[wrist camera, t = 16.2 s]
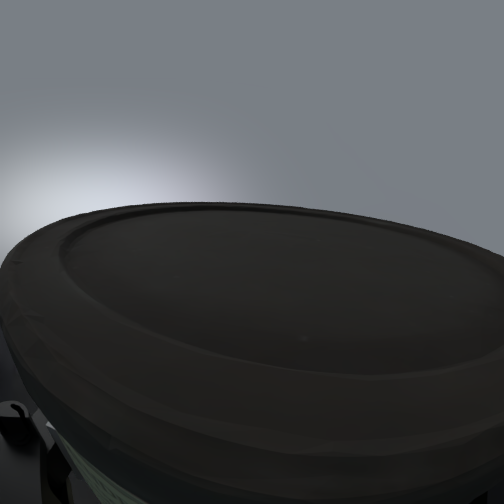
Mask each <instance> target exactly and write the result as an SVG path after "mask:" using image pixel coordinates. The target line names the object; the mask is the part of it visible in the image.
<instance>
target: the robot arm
mask: <svg viewBox="0 0 504 504" xmlns="http://www.w3.org/2000/svg"><path fill="white" fill-rule="evenodd" d="M71 470H72V471H73V472H74V474H75V475H76V477H77V478H78V479H80V480H82V481H85V482H86V480H85V479H84V477H83V476H82V474H81V473H80V471H79V469H78V468H77V466H76V465H75V463H74V461H73V460H72V458H71V456H70V455H69V453H68V451H67V449H66V448H65V446H64V444H63V442H62V440H61V439H60V437H59V435H58V433H57V431H56V429H55V428H54V427H53V426H52V425H51V424H50V423H49V421H48V420H47V419H46V417H45V416H44V415H43V413H42V412H41V410H40V409H39V408H38V410H37V411H36V412H35V413H34V414H33V416H32V417H31V416H30V414H29V412H28V410H27V408H26V407H25V405H23V404H21V403H20V402H17V401H12V400H11V401H4V402H2V403H0V504H74V502H73V496H72V489H71V483H70V480H69V478H68V475H69V473H70V472H71ZM469 504H504V479H503V480H501V481H500V482H499V483H497V484H496V485H495V486H494V487H492V488H491V489H489V490H488V491H486V492H485V493H483V494H482V495H480V496H478V497H477V498H475V499H473V500H472V501H471V502H470V503H469Z"/></svg>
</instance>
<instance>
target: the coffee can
mask: <svg viewBox="0 0 504 504" xmlns="http://www.w3.org/2000/svg"><path fill="white" fill-rule="evenodd" d="M0 324H1V328H2V331H3V334H4V337H5V340H6V343H7V345H8V348H9V351H10V353H11V356H12V358H13V361H14V363H15V365H16V368H17V370H18V372H19V374H20V377H21V379H22V381H23V383H24V385H25V387H26V389H27V391H28V393H29V395H30V396H31V398H32V399H33V400H34V402H35V403H36V405H37V406H38V408H39V409H40V410H41V412H42V413H43V415H44V416H45V417H46V419H47V420H48V421H49V423H50V424H51V425H52V426H53V427H54V428H55V429H56V431H57V433H58V435H59V437H60V439H61V440H62V442H63V444H64V446H65V448H66V449H67V451H68V453H69V455H70V456H71V458H72V460H73V461H74V463H75V465H76V466H77V468H78V469H79V471H80V473H81V474H82V476H83V477H84V479H85V480H86V482H87V483H88V485H89V486H90V488H91V489H92V490H93V492H94V493H95V495H96V496H97V498H98V499H99V500H100V502H101V503H102V504H469V503H470V502H471V501H472V500H473V499H475V498H477V497H478V496H480V495H482V494H483V493H485V492H486V491H488V490H489V489H491V488H492V487H494V486H495V485H496V484H497V483H499V482H500V481H501V480H503V479H504V257H503V256H501V255H499V254H496V253H493V252H491V251H489V250H487V249H484V248H482V247H479V246H477V245H474V244H472V243H469V242H466V241H462V240H459V239H456V238H453V237H450V236H446V235H443V234H439V233H436V232H433V231H429V230H426V229H421V228H417V227H413V226H409V225H405V224H400V223H396V222H392V221H387V220H381V219H376V218H371V217H365V216H359V215H353V214H347V213H341V212H334V211H327V210H318V209H308V208H303V207H294V206H283V205H270V204H255V203H236V202H235V203H233V202H232V203H227V202H173V203H152V204H142V205H130V206H123V207H117V208H110V209H104V210H97V211H93V212H89V213H83V214H79V215H75V216H71V217H68V218H64V219H61V220H59V221H56V222H54V223H52V224H49V225H47V226H45V227H43V228H41V229H39V230H37V231H35V232H34V233H32V234H30V235H29V236H27V237H26V238H24V239H23V240H22V241H20V242H19V243H18V244H17V245H16V246H15V247H14V248H13V249H12V250H11V251H10V252H9V253H8V255H7V256H6V258H5V260H4V261H3V263H2V265H1V268H0Z"/></svg>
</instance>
